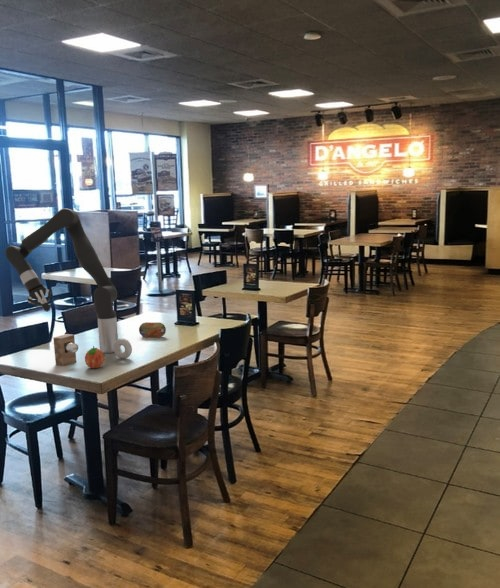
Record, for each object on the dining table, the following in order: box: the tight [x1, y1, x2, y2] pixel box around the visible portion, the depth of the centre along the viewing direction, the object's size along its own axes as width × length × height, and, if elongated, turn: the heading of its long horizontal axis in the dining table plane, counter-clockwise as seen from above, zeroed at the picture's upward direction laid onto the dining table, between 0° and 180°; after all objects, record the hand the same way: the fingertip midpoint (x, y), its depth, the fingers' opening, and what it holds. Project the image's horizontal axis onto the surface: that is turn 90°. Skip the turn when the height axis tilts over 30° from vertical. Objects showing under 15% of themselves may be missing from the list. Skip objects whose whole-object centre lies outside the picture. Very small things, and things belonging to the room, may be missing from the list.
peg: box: [64, 343, 79, 353], centre depth 272 cm, size 9×4×4 cm, turn 60°
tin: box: [138, 321, 167, 339], centre depth 321 cm, size 15×3×8 cm, turn 76°
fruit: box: [84, 345, 105, 369], centre depth 264 cm, size 9×10×10 cm
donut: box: [113, 337, 133, 360], centre depth 278 cm, size 10×3×10 cm, turn 66°
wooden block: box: [52, 333, 77, 367], centre depth 273 cm, size 5×8×13 cm, turn 150°
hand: (48, 310), depth 285 cm, fingers closed
